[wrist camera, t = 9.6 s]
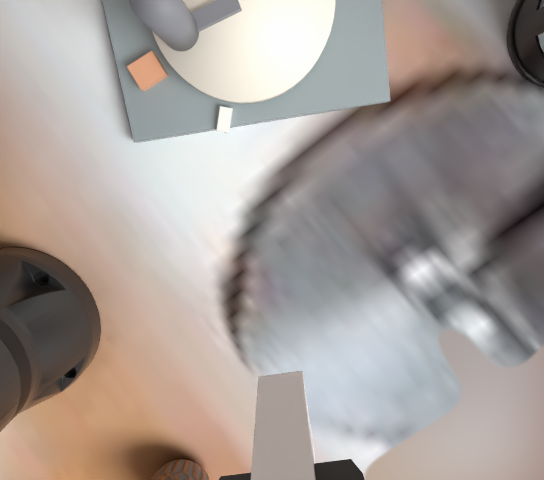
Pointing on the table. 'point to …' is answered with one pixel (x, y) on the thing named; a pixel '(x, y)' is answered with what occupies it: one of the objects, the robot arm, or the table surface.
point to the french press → (527, 40)
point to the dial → (239, 43)
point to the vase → (180, 471)
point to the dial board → (223, 115)
